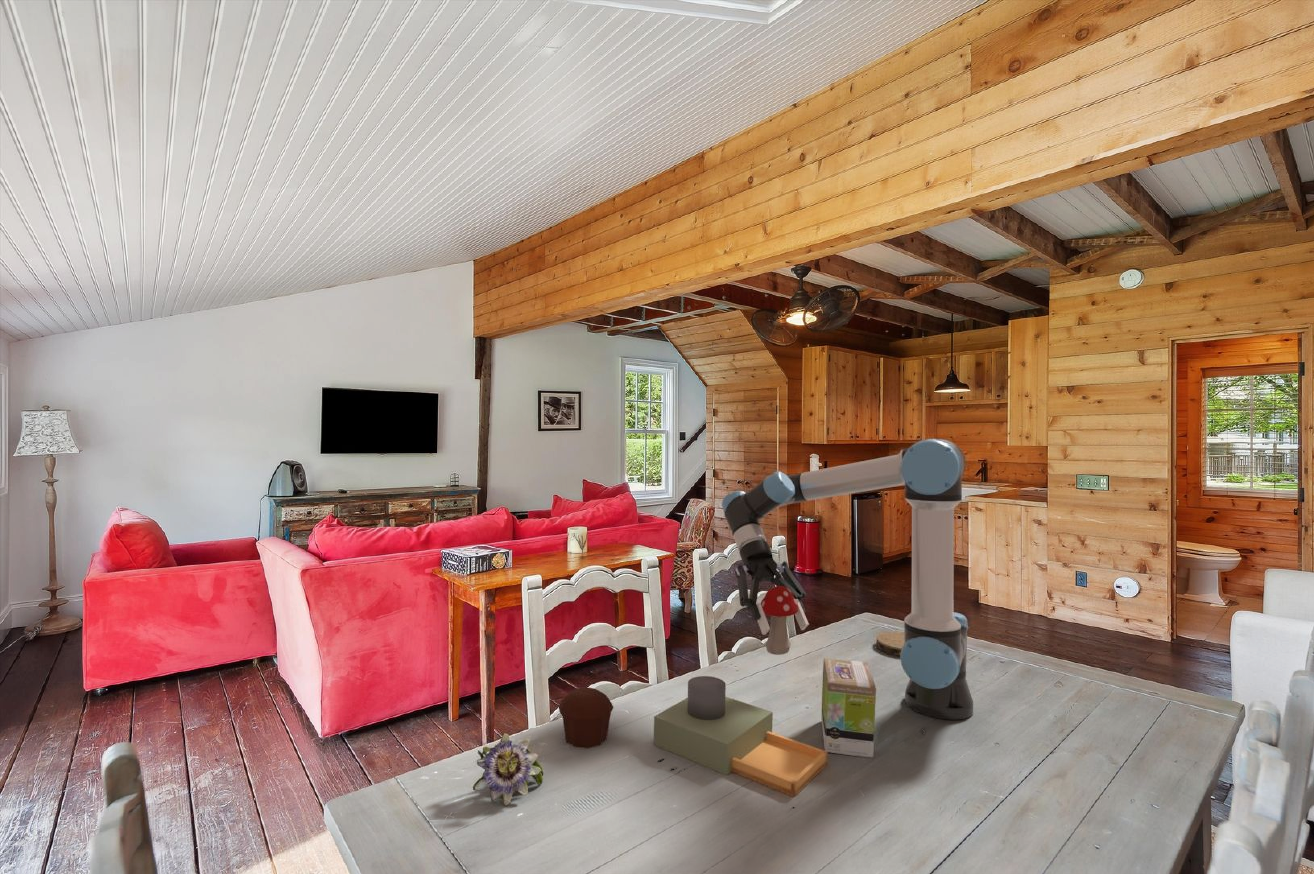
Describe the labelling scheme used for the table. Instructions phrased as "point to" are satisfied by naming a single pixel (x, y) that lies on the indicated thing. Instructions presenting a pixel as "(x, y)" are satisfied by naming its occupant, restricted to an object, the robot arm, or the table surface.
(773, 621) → the decorative mushroom
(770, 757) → the green drawer box
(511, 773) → the passion flower
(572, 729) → the muffin
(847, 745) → the tea box
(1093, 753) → the table surface
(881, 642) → the wood slice
